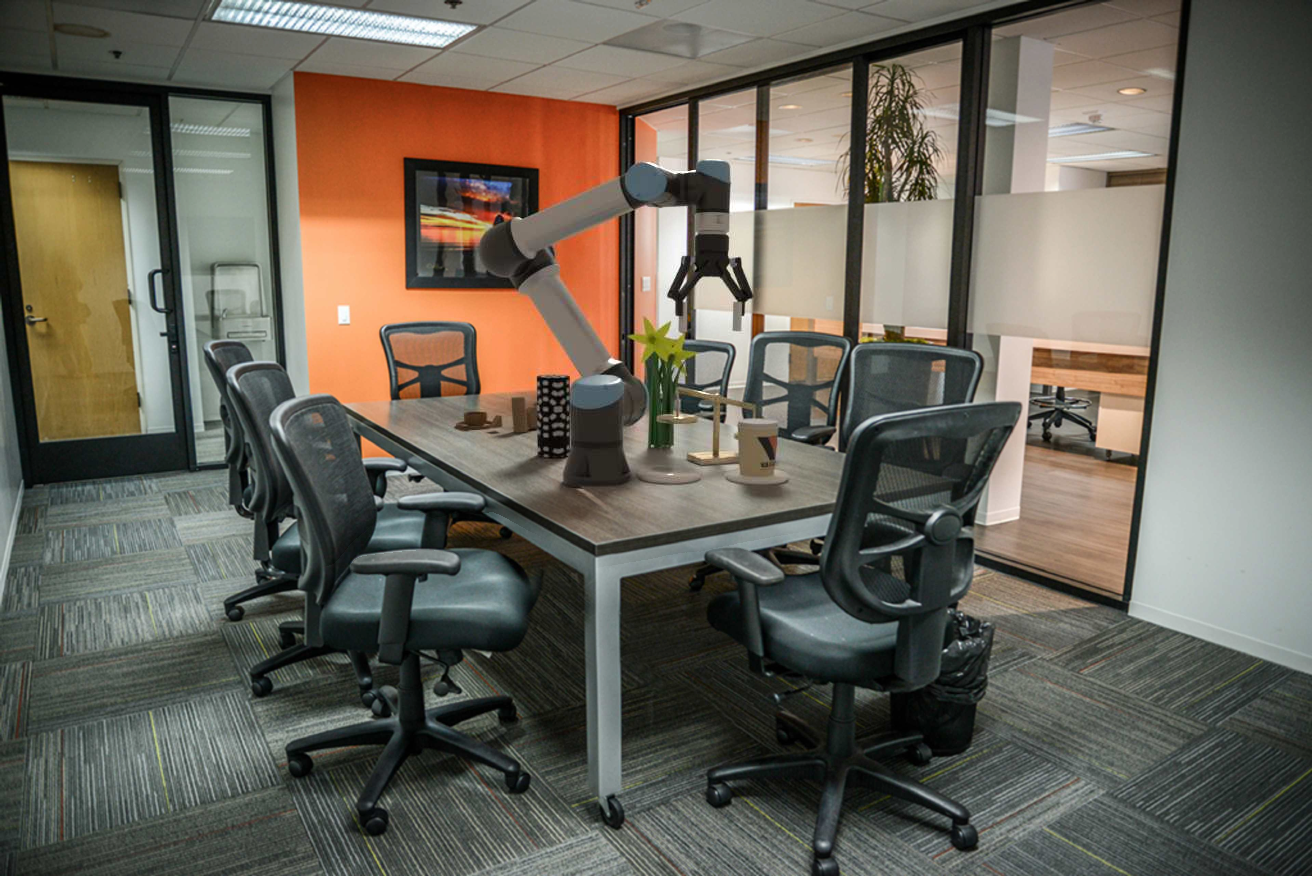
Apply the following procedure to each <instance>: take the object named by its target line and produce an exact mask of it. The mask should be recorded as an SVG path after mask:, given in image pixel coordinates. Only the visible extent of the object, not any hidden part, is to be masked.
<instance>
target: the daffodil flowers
mask: <svg viewBox="0 0 1312 876" xmlns="http://www.w3.org/2000/svg"><path fill="white" fill-rule="evenodd" d="M642 317H643V318H642V319H643V327H644V331H645V334H643V333H641V334H640V333H636V334H635V333H634V334H629V335H627V338H629V339H631V340H633V341H635V342H637V343H640V344H642V345H644V346H645V348H644V351H643V353H642V357H641V362H640V363H641V364H644V362H645V367H646V377H647V389H648V392H649V397H650V402H649V407H648V410H649V412H648V413H649V414H648V415H649V416H648V430H647V431H648V433H647V435H648V436H647V449H652V446H653V447H654V448H657V449H661V448H663V447H664V446H665V447H666V446H668V448H671V447H673V446H675V424H668V423H661V422H658V421H657V416H658V415H664V414H674V412H675V411H674V409H675V404H676V403H675V402H676V397H677V391H676V390H677V387H678V385H679V384H678V382H679V379H680V374H681V373H682V374H683V376H685V377H688V374H687V371H686V369H685V366H684V365H685V363H687V360H688V359H690V358H692V357H693V356H696V355H697V354H699V352H698V351H693V350H691V351H690V350H684V349H683V345H684V342H685V336H686V332H684V333H682V334H681V335H680V336H679V337H678V339H673V338H670V337H666V335H667V334H668V333H669V331H670V327H671V324H672V322H671V321H668V322H667V323H665V324H664V325H663V326H661V327H659V328H658V329H657V330H655V329H654V326H653V324H652V323H651V322H650V320H649V319H648V318H647V317H646V316H642ZM652 355H653V358H652V357H651V356H652ZM649 357H650V361H651V363H650V361H649ZM683 360H684V361H683ZM659 361H660V363H659ZM682 361H683V362H682ZM659 364H660V366H659ZM673 366H674V367H673ZM675 368H677V369H678V370H677V373H676V375H675V377H674V380H673V374H674V372H675ZM661 393H662V398H661Z"/></svg>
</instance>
